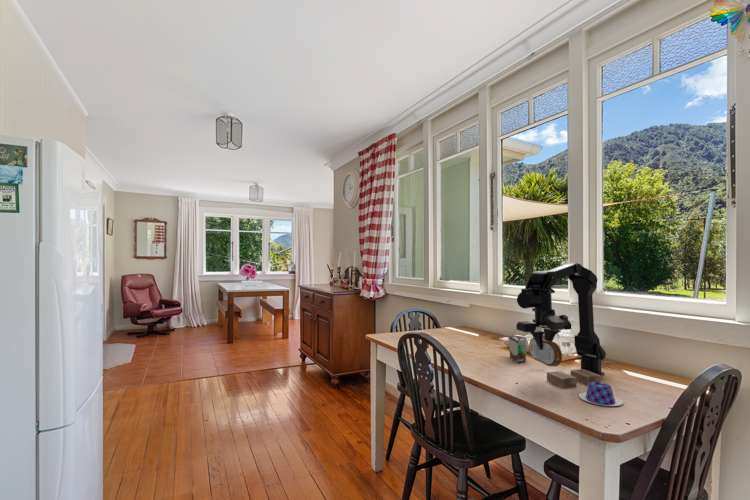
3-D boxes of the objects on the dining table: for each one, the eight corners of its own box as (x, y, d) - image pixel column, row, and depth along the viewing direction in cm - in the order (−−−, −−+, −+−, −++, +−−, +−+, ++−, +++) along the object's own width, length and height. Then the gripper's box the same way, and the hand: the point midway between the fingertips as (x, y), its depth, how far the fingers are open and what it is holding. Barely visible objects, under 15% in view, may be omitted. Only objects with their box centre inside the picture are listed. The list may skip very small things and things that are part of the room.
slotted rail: (584, 377, 140) (583, 369, 140) (601, 383, 132) (600, 375, 132) (547, 380, 136) (546, 372, 136) (562, 387, 128) (562, 378, 129)
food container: (533, 364, 158) (532, 340, 158) (518, 364, 158) (518, 340, 158) (522, 356, 170) (521, 334, 171) (508, 356, 170) (508, 335, 171)
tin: (561, 369, 125) (563, 344, 125) (553, 369, 124) (555, 344, 125) (534, 357, 140) (536, 335, 140) (526, 356, 139) (528, 334, 139)
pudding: (582, 391, 125) (582, 376, 125) (624, 399, 118) (624, 383, 118) (575, 402, 116) (575, 385, 116) (621, 411, 108) (620, 393, 109)
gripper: (534, 310, 123) (535, 357, 122) (582, 307, 127) (583, 353, 126) (514, 306, 134) (516, 349, 133) (559, 303, 137) (561, 345, 137)
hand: (544, 349), depth 132 cm, fingers closed on tin, 3 cm apart
